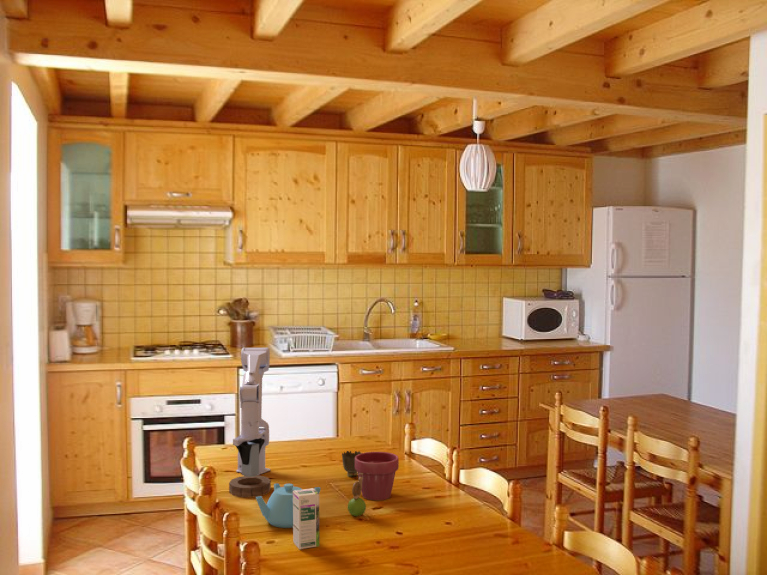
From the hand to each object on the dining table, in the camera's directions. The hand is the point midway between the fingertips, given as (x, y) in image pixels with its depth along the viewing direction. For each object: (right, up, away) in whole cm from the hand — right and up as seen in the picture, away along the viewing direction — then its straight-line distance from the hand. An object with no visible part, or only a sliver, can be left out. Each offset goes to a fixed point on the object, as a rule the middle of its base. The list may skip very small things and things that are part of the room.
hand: (250, 462), depth 247 cm
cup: (+33, -9, +17) cm, 38 cm away
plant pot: (+41, -10, -4) cm, 43 cm away
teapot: (+16, -11, -26) cm, 32 cm away
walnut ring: (0, -9, +1) cm, 9 cm away
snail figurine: (+36, -11, -21) cm, 43 cm away
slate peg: (0, -4, 0) cm, 4 cm away
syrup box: (+23, -12, -44) cm, 51 cm away
